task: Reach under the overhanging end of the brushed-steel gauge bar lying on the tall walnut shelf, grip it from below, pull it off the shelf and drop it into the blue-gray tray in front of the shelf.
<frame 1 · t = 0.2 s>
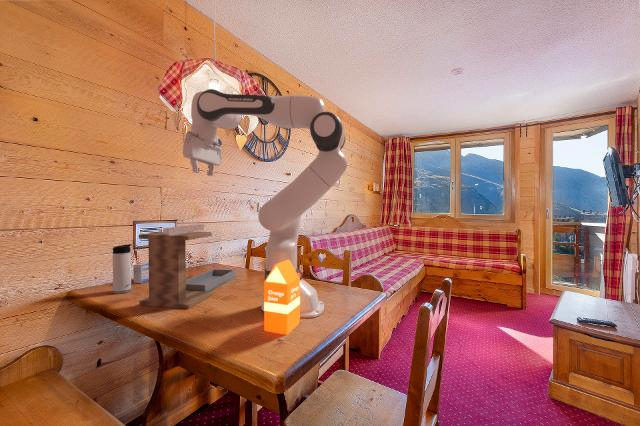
hand: (203, 174, 105), 48 cm above the table, tool pointing down, fingers open, 8 cm apart
gauge bar: (185, 232, 112), point 26 cm above the table, touching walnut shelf
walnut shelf: (181, 298, 111), on the table
medicine box: (144, 281, 135), on the table
orange juice: (282, 327, 85), on the table
travel mug: (122, 291, 118), on the table
blue-gray tray: (209, 284, 130), on the table
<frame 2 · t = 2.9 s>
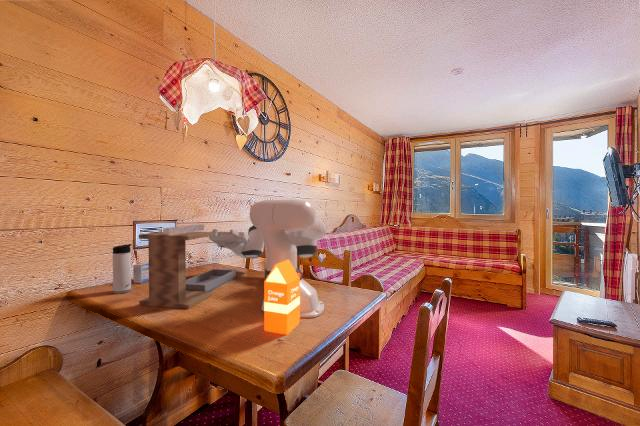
hand: (222, 230, 137), 24 cm above the table, tool pointing upward, fingers open, 8 cm apart
nothing on the table moved.
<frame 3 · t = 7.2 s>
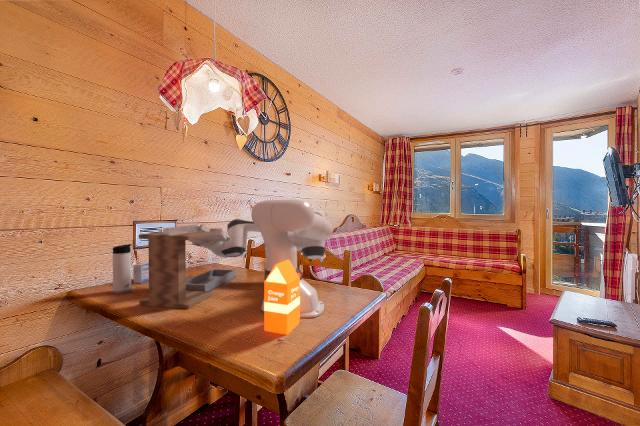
hand: (196, 226, 119), 28 cm above the table, tool pointing upward, fingers closed on gauge bar, 2 cm apart
gauge bar: (185, 232, 112), point 26 cm above the table, touching gripper, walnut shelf
everything else where it was.
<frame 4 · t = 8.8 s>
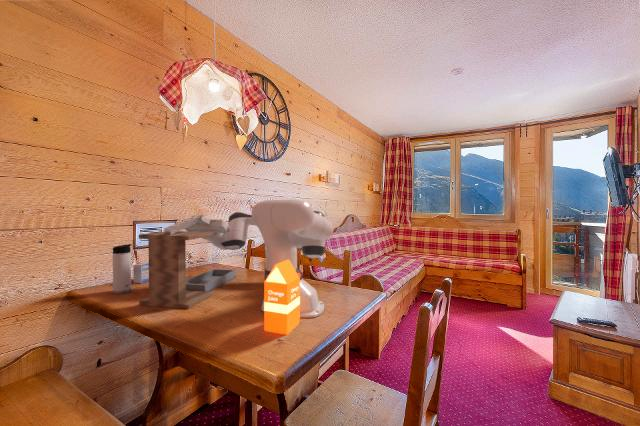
hand: (196, 217, 120), 32 cm above the table, tool pointing upward, fingers closed on gauge bar, 2 cm apart
gauge bar: (186, 226, 113), point 28 cm above the table, tilted 11°, touching gripper, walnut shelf
everything else where it was.
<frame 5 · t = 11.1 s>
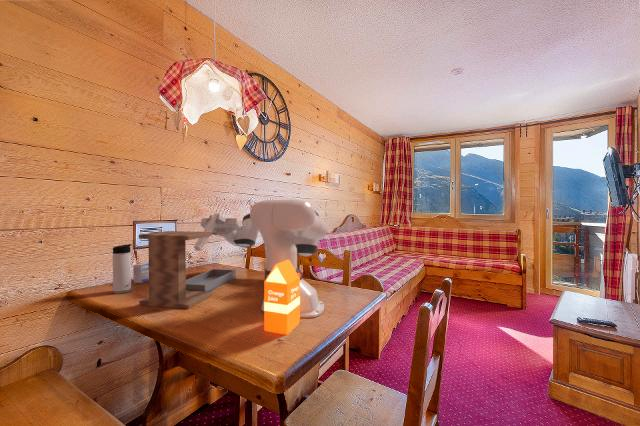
hand: (214, 216, 134), 31 cm above the table, tool pointing upward, fingers closed on gauge bar, 2 cm apart
gauge bar: (209, 232, 130), point 24 cm above the table, tilted 39°, touching gripper
everything else where it was.
when the fingers open (20 cm above the table, at t = 14.3 s): gauge bar drops 4 cm and tips over, resting on arm, blue-gray tray.
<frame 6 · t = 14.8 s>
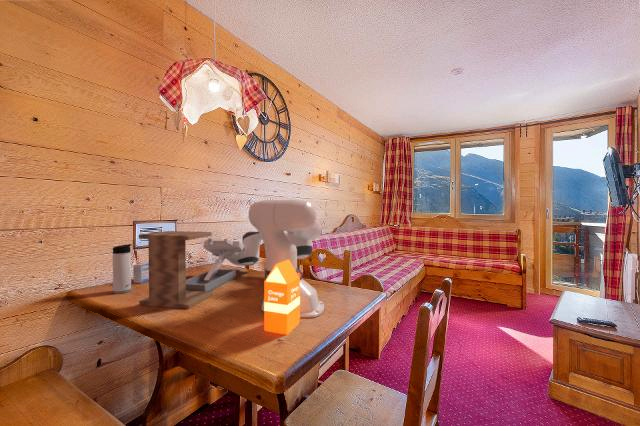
hand: (217, 239, 136), 20 cm above the table, tool pointing upward, fingers open, 8 cm apart
gauge bar: (218, 265, 137), point 7 cm above the table, tilted 36°, touching arm, blue-gray tray
everything else where it was.
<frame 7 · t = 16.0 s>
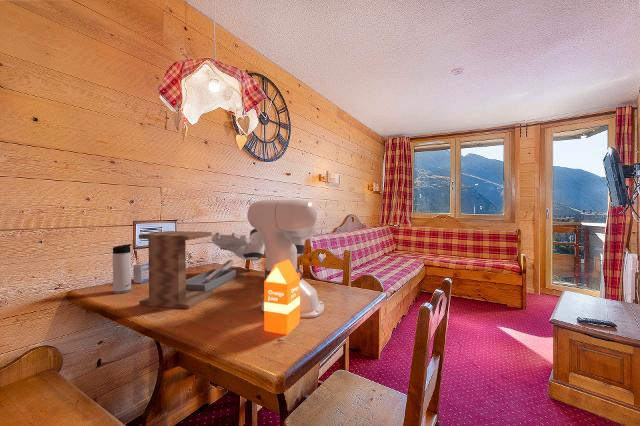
hand: (224, 234, 143), 22 cm above the table, tool pointing upward, fingers open, 8 cm apart
gauge bar: (220, 273, 139), point 3 cm above the table, tilted 12°, touching blue-gray tray
everything else where it was.
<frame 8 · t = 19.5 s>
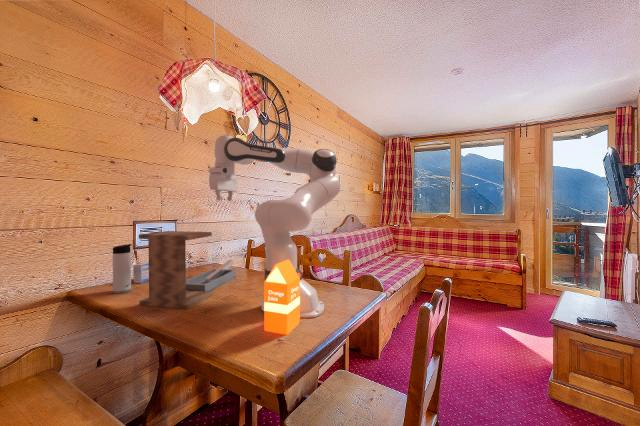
hand: (224, 200, 131), 39 cm above the table, tool pointing down, fingers open, 8 cm apart
nothing on the table moved.
at the end: gauge bar inside the target area on the blue-gray tray (9.3 cm from its centre), point 3.0 cm above the blue-gray tray's base; the gripper is holding nothing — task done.
